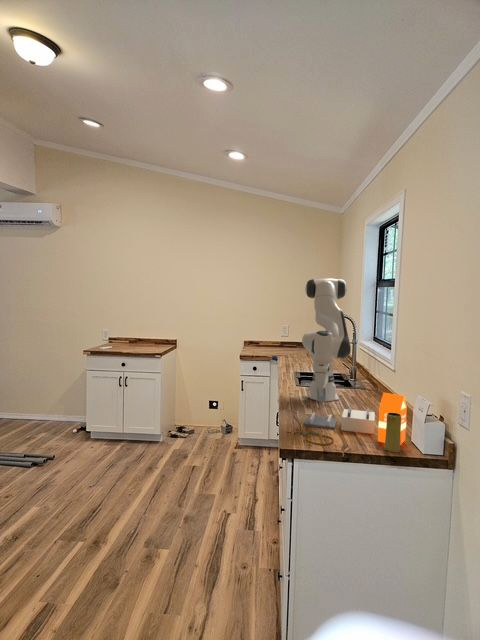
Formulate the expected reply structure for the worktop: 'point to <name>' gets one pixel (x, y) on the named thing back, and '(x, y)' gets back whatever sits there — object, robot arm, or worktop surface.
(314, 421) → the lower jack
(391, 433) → the vase
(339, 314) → the robot arm
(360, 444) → the worktop surface
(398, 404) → the orange juice
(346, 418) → the block
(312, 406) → the worktop surface
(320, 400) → the plug
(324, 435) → the coiled cable
